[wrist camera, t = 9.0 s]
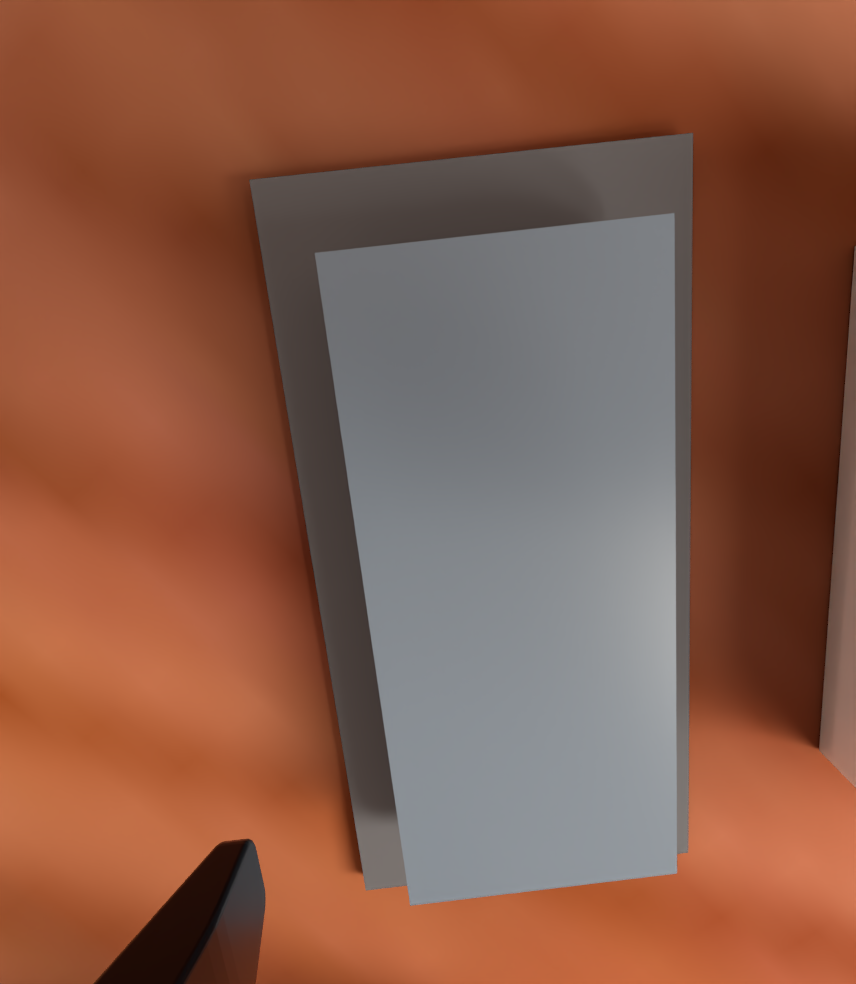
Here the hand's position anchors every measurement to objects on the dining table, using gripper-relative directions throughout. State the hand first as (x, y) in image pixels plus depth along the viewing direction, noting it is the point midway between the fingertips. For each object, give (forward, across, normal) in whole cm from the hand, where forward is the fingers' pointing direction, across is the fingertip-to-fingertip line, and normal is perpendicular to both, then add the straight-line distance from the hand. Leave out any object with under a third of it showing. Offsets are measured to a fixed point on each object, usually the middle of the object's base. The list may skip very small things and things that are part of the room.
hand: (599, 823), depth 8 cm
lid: (+8, 0, 0) cm, 8 cm away
